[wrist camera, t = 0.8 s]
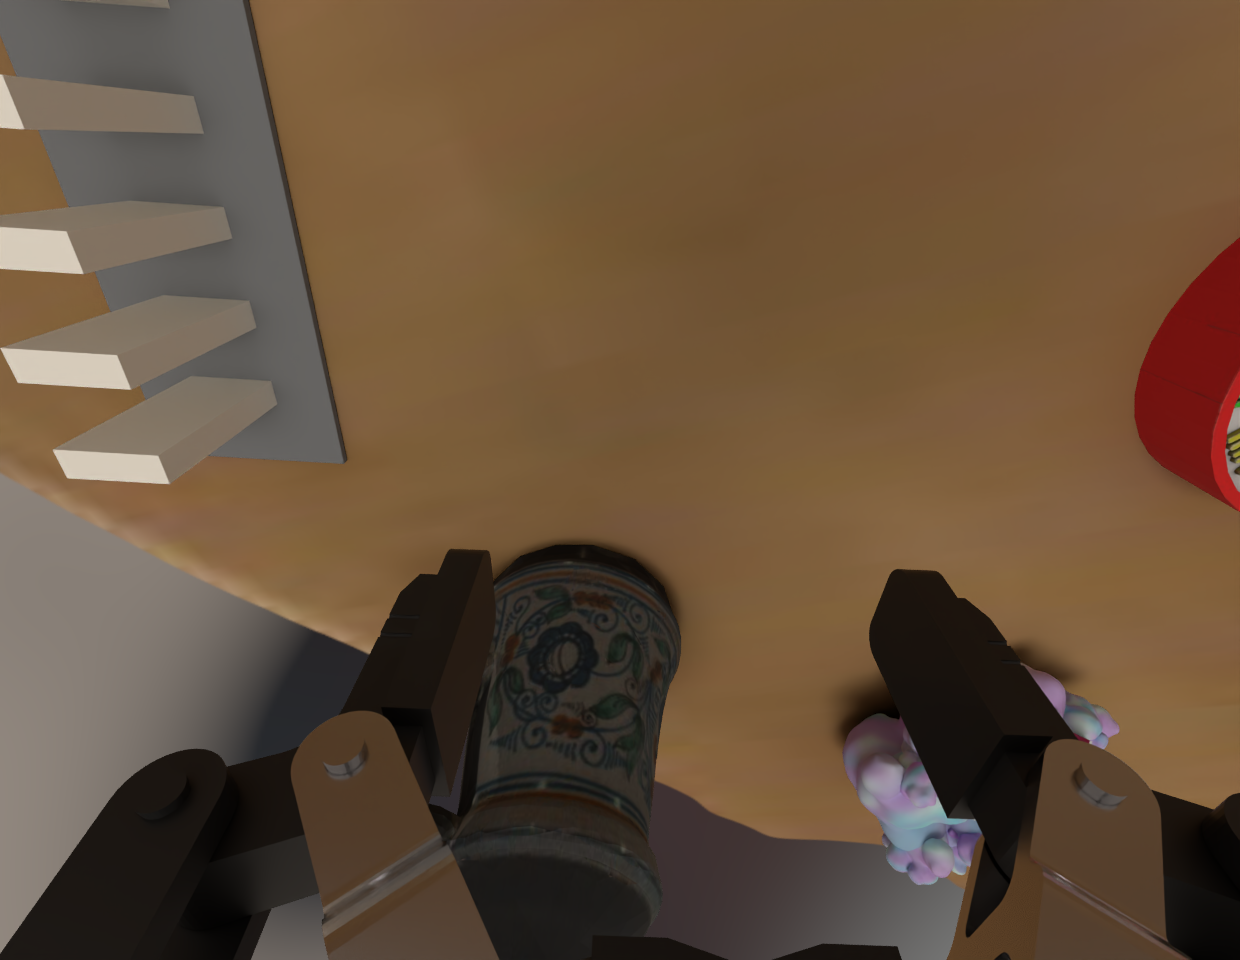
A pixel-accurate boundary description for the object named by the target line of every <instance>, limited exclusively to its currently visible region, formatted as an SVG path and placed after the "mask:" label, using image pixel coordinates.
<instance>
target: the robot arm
mask: <svg viewBox="0 0 1240 960" xmlns="http://www.w3.org/2000/svg"><path fill="white" fill-rule="evenodd" d="M495 620H496V604H495V594H494V585H493V575H492V566H491V557H490V553H489V551H487V550H466V549H450V550H449V551H448V552H447V554H446V556H445V559H444V561H443V563H442V566H441V568H440V570H439V573H438V575H433V574H420V575H419V576H418V577H416V578H415V579H414V580H413V581H412V582H411V583H410V584H409V585H408V586H407V587H406V588H405V589H403V590H402V591H401V592H400V594H399V596H398V598H397V600H396V602H395V604H394V606H393V608H392V610H391V612H390V617H389V619H387V620H386V622H385V624H384V626H383V628H382V630H381V635H380V637H378V639H377V641H376V643H375V645H374V647H373V649H372V651H371V653H370V655H369V657H368V659H367V661H366V663H365V665H364V667H363V669H362V671H361V673H360V675H359V677H358V679H357V681H356V683H355V685H354V687H353V689H352V691H351V693H350V695H349V697H348V699H347V702H346V703H345V706H344V707H343V709H342V711H341V713H340V714H339V715H338V716H336V717H333V718H332V719H330V720H328V721H326V722H324V723H323V724H321V725H320V726H319V727H317V728H316V729H315V730H314V731H313V732H311V733H310V734H309V735H308V736H307V738H306V739H305V740H304V741H303V742H302V744H301V745H300V746H299V747H296V748H294V749H292V750H289V751H286V752H283V753H279V754H276V755H271V756H267V757H263V758H259V759H256V760H252V761H248V762H244V763H240V764H236V765H232V766H228V767H227V766H226V765H225V763H224V761H223V760H222V758H221V757H220V756H219V755H218V754H216V753H214V752H212V751H209V750H205V749H188V750H183V751H178V752H175V753H172V754H169V755H166V756H164V757H162V758H160V759H158V760H156V761H154V762H152V763H150V764H149V765H147V766H145V767H144V768H143V769H141V770H140V771H138V772H137V773H135V774H134V775H133V776H132V777H131V778H129V779H128V780H127V781H126V782H125V783H124V784H123V785H122V786H121V787H120V788H119V789H118V790H117V791H116V792H115V794H114V795H113V796H112V797H111V799H110V800H109V801H108V803H107V804H106V806H105V807H104V809H103V810H102V811H101V813H100V814H99V815H98V817H97V819H96V820H95V821H94V823H93V824H92V825H91V827H90V828H89V829H88V831H87V832H86V834H85V835H84V837H83V838H82V839H81V841H80V842H79V844H78V845H77V846H76V848H75V849H74V851H73V852H72V854H71V855H70V856H69V858H68V859H67V860H66V862H65V863H64V865H63V866H62V868H61V869H60V871H59V872H58V873H57V875H56V876H55V877H54V879H53V880H52V882H51V883H50V884H49V886H48V887H47V889H46V890H45V892H44V893H43V894H42V896H41V897H40V898H39V900H38V901H37V903H36V904H35V906H34V907H33V908H32V910H31V911H30V913H29V914H28V915H27V917H26V918H25V920H24V921H23V922H22V924H21V926H20V927H19V928H18V930H17V931H16V932H15V934H14V935H13V936H12V938H11V939H10V941H9V942H8V944H7V945H6V946H5V948H4V949H3V951H2V952H1V954H0V960H251V958H252V955H253V953H254V950H255V948H256V945H257V943H258V940H259V937H260V935H261V933H262V931H263V928H264V926H265V923H266V920H267V918H268V916H269V913H270V911H271V908H274V907H277V906H280V905H283V904H287V903H290V902H293V901H296V900H299V899H302V898H305V897H308V896H311V895H314V894H317V893H320V897H321V901H322V905H323V911H324V919H323V920H322V930H323V936H324V941H325V946H326V951H327V955H328V959H329V960H499V958H498V956H497V953H496V951H495V949H494V947H493V944H492V942H491V940H490V937H489V935H488V933H487V931H486V928H485V926H484V924H483V922H482V919H481V917H480V915H479V912H478V910H477V908H476V906H475V903H474V901H473V899H472V896H471V894H470V892H469V890H468V887H467V885H466V883H465V880H464V878H463V876H462V874H461V871H460V869H459V867H458V865H457V862H456V860H455V858H454V856H453V854H452V852H451V850H450V848H449V846H448V844H447V843H446V841H443V839H442V837H441V835H440V833H439V831H438V829H437V827H436V824H435V822H434V820H433V817H432V815H431V813H430V810H429V808H428V804H429V801H430V798H431V796H448V797H450V795H451V791H452V787H453V784H454V780H455V776H456V773H457V769H458V765H459V762H460V758H461V754H462V751H463V746H464V743H465V739H466V736H467V732H468V728H469V725H470V721H471V717H472V713H473V710H474V706H475V702H476V699H477V695H478V691H479V687H480V684H481V680H482V676H483V673H484V669H485V665H486V661H487V658H488V654H489V650H490V647H491V643H492V639H493V635H494V629H495ZM869 641H870V647H871V651H872V654H873V656H874V659H875V661H876V663H877V665H878V667H879V670H880V672H881V674H882V676H883V678H884V681H885V683H886V685H887V687H888V689H889V692H890V694H891V696H892V698H893V700H894V703H895V705H896V707H897V709H898V711H899V713H900V716H901V718H902V720H903V722H904V724H905V727H906V729H907V731H908V733H909V735H910V738H911V740H912V742H913V744H914V746H915V749H916V751H917V753H918V755H919V757H920V759H921V762H922V764H923V766H924V768H925V770H926V773H927V775H928V777H929V779H930V781H931V784H932V786H933V788H934V790H935V792H936V795H937V797H938V799H939V801H940V803H941V806H942V808H943V810H944V812H945V814H946V816H947V818H949V819H975V820H976V822H977V824H978V826H979V828H980V830H981V832H982V834H981V835H980V837H979V838H978V840H977V842H976V844H975V848H974V852H973V857H972V861H971V866H970V870H969V874H968V879H967V883H966V888H965V892H964V897H963V901H962V906H961V910H960V914H959V919H958V923H957V927H956V932H955V936H954V940H953V944H952V947H951V950H950V953H949V955H948V957H947V960H1240V793H1237V794H1233V795H1231V796H1229V797H1228V798H1227V799H1226V800H1224V801H1223V802H1222V803H1221V804H1220V805H1219V806H1218V807H1216V808H1215V809H1210V808H1207V807H1204V806H1201V805H1198V804H1195V803H1191V802H1188V801H1185V800H1182V799H1179V798H1176V797H1172V796H1169V795H1166V794H1163V793H1160V792H1157V791H1153V790H1151V789H1150V788H1149V787H1148V785H1147V784H1146V783H1145V782H1144V780H1143V779H1142V778H1141V777H1140V776H1139V775H1138V774H1137V773H1136V772H1135V771H1134V770H1133V769H1131V768H1130V767H1129V766H1128V765H1127V764H1125V763H1124V762H1123V761H1121V760H1120V759H1119V758H1117V757H1115V756H1114V755H1112V754H1111V753H1109V752H1107V751H1105V750H1103V749H1102V748H1099V747H1097V746H1095V745H1092V744H1089V743H1086V742H1083V741H1079V740H1078V739H1077V737H1076V736H1075V735H1074V733H1073V732H1072V730H1071V729H1070V728H1069V726H1068V725H1067V724H1066V722H1065V721H1064V719H1063V718H1062V717H1061V715H1060V714H1059V713H1058V711H1057V710H1056V708H1055V707H1054V706H1053V704H1052V703H1051V702H1050V700H1049V699H1048V697H1047V696H1046V695H1045V693H1044V692H1043V691H1042V689H1041V688H1040V686H1039V685H1038V684H1037V682H1036V681H1035V680H1034V678H1033V677H1032V675H1031V674H1030V673H1029V671H1028V670H1027V669H1026V667H1025V666H1024V665H1021V664H1020V661H1021V660H1020V659H1019V658H1018V656H1017V655H1016V653H1015V652H1014V651H1013V649H1012V648H1011V647H1010V646H1007V644H1006V642H1007V641H1006V640H1005V638H1004V637H1003V636H1002V634H1001V633H1000V631H999V630H998V629H997V627H996V626H995V625H994V623H993V622H992V620H991V619H990V618H989V617H988V616H986V615H985V614H984V613H983V612H981V611H980V610H979V609H978V608H976V607H975V606H974V605H973V604H972V603H970V602H969V601H968V600H967V599H965V598H957V596H956V595H955V593H954V592H953V591H952V589H951V588H950V586H949V585H948V583H947V582H946V580H945V579H944V577H943V576H942V575H941V574H940V573H939V572H937V571H929V570H905V569H896V570H894V571H893V572H892V573H891V574H890V576H889V578H888V581H887V583H886V586H885V588H884V591H883V593H882V596H881V598H880V601H879V603H878V606H877V608H876V611H875V614H874V616H873V619H872V621H871V624H870V630H869ZM582 960H728V959H724V958H722V957H719V956H716V955H714V954H711V953H708V952H705V951H703V950H700V949H697V948H694V947H691V946H689V945H686V944H683V943H680V942H678V941H675V940H672V939H669V938H656V937H629V936H602V935H593V936H592V956H591V957H588V958H585V959H582ZM773 960H902V959H901V956H900V953H899V950H898V947H897V946H871V945H870V946H868V945H844V944H821V945H817V946H814V947H811V948H808V949H805V950H802V951H798V952H795V953H792V954H789V955H786V956H783V957H780V958H776V959H773Z"/></svg>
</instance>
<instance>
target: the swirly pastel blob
mask: <svg viewBox="0 0 1240 960" xmlns="http://www.w3.org/2000/svg"><path fill="white" fill-rule="evenodd" d="M1020 664H1021V665H1024V666H1025V667H1026V669H1027V670H1028V671H1029V673H1030V674H1031V675H1032V677H1033V678H1034V680H1035V681H1036V682H1037V684H1038V685H1039V686H1040V688H1041V689H1042V691H1043V692H1044V693H1045V695H1046V696H1047V697H1048V699H1049V700H1050V702H1051V703H1052V704H1053V706H1054V707H1055V708H1056V710H1057V711H1058V713H1059V714H1060V715H1061V717H1062V718H1063V719H1064V721H1065V722H1066V724H1067V725H1068V726H1069V728H1070V729H1071V730H1072V732H1073V733H1074V735H1075V736H1076V737H1077V739H1078V740H1079V741H1083V742H1086V743H1089V744H1092V745H1095V746H1097V747H1099V748H1102V749H1104V748H1105V747H1106V745H1107V744H1108V738H1109V737H1111V736H1112V735H1115V734H1118V732H1119V726H1118V724H1117V723H1116V722H1115V721H1114V720H1113V719H1112V718H1111V716H1110V714H1109V713H1108V711H1107V710H1106V709H1104V708H1103V707H1101V706H1098V705H1094V704H1090V703H1089V702H1088V701H1087V700H1086V699H1084V698H1083V697H1080V696H1077V695H1074V694H1071V693H1069V692H1067V691H1065V689H1064V687H1063V686H1062V684H1061V683H1060V681H1058V680H1057V679H1056V678H1054V677H1053V676H1051V675H1050V674H1048V673H1046V672H1042V671H1038V670H1034V669H1032V668H1031V667H1029V666H1027V665H1025V664H1023V663H1020ZM843 760H844V765H845V769H846V773H847V775H848V777H849V779H850V781H851V782H852V784H853V786H854V787H855V789H856V790H857V794H858V797H859V799H860V801H861V802H862V804H863V805H864V806H865V807H866V808H867V809H868V810H869V811H871V812H872V813H873V814H874V815H876V817H877V818H878V820H879V822H880V824H881V827H882V829H883V831H884V834H883V836H882V842H883V844H884V846H885V847H887V848H886V858H887V860H888V862H889V864H891V866H892V867H893V868H894V869H895V870H897V871H900V872H907V873H908V875H909V877H910V878H911V880H912V881H913V882H915V883H916V884H918V885H921V884H927V885H930V884H933V883H935V882H936V881H937V880H938V877H941V878H944V877H947V876H948V875H949V873H950V872H951V871H953V872H955V873H957V874H959V875H963V874H965V872H966V866H971V861H972V857H973V852H974V848H975V844H976V842H977V840H978V838H979V837H980V835H981V834H982V832H981V830H980V828H979V826H978V824H977V822H976V820H975V819H949V818H947V816H946V814H945V812H944V810H943V808H942V806H941V803H940V801H939V799H938V797H937V795H936V792H935V790H934V788H933V786H932V784H931V781H930V779H929V777H928V775H927V773H926V770H925V768H924V766H923V764H922V762H921V759H920V757H919V755H918V753H917V751H916V749H915V746H914V744H913V742H912V740H911V738H910V735H909V733H908V731H907V729H906V727H905V724H904V722H903V720H902V718H901V716H900V719H899V720H898V719H896V718H890V717H888V716H886V715H885V714H881V713H880V714H875V715H872V716H870V717H868V718H866V719H865V720H864V721H862V722H861V723H860V724H858V725H857V726H856V727H854V728H853V729H852V730H851V731H850V733H849V734H848V736H847V739H846V742H845V745H844V748H843Z"/></svg>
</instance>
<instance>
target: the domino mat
mask: <svg viewBox="0 0 1240 960" xmlns="http://www.w3.org/2000/svg"><path fill="white" fill-rule="evenodd" d="M168 3H169V7H170V8H157V7H144V6H131V5H117V4H104V3H91V2H77V1H64V0H0V35H1V38H2V40H3V43H4V45H5V48H6V50H7V53H8V55H9V58H10V60H11V63H12V65H13V68H14V70H15V73H16V75H17V77H26V78H35V79H44V80H53V81H62V82H71V83H80V84H89V85H98V86H107V87H116V88H125V89H134V90H143V91H152V92H161V93H170V94H179V95H188V96H194V99H195V103H196V106H197V110H198V114H199V117H200V121H201V125H202V128H203V132H204V134H195V133H155V132H115V131H75V130H38V131H39V133H40V136H41V138H42V141H43V143H44V146H45V148H46V151H47V153H48V156H49V158H50V161H51V163H52V166H53V168H54V171H55V173H56V176H57V178H58V181H59V183H60V186H61V188H62V191H63V193H64V196H65V198H66V201H67V203H68V206H69V208H70V207H78V206H87V205H96V204H105V203H114V202H123V201H143V202H158V203H173V204H188V205H203V206H217V207H224V210H225V213H226V217H227V221H228V224H229V228H230V232H231V235H232V239H229V240H224V241H220V242H216V243H212V244H208V245H203V246H199V247H195V248H191V249H187V250H182V251H178V252H174V253H170V254H166V255H161V256H157V257H153V258H149V259H145V260H140V261H136V262H132V263H128V264H124V265H120V266H115V267H111V268H107V269H103V270H99V271H95V274H96V276H97V279H98V281H99V284H100V286H101V289H102V291H103V294H104V296H105V299H106V301H107V304H108V306H109V309H110V311H111V312H113V311H116V310H119V309H122V308H125V307H128V306H131V305H134V304H137V303H140V302H143V301H147V300H150V299H153V298H156V297H159V296H162V295H169V296H185V297H200V298H216V299H231V300H247V301H249V302H250V305H251V309H252V313H253V316H254V320H255V324H256V328H255V329H253V330H251V331H249V332H247V333H245V334H243V335H241V336H239V337H237V338H235V339H233V340H231V341H228V342H226V343H224V344H222V345H220V346H218V347H216V348H214V349H212V350H210V351H208V352H206V353H204V354H202V355H200V356H198V357H196V358H194V359H192V360H190V361H188V362H186V363H184V364H182V365H180V366H178V367H176V368H174V369H172V370H170V371H168V372H166V373H164V374H162V375H160V376H158V377H156V378H154V379H152V380H150V381H148V382H145V383H143V384H141V385H140V386H141V389H142V391H143V394H144V396H145V399H146V400H147V399H149V398H151V397H153V396H154V395H156V394H158V393H160V392H162V391H164V390H166V389H168V388H170V387H171V386H173V385H175V384H177V383H179V382H181V381H183V380H185V379H187V378H188V377H190V376H199V377H215V378H231V379H248V380H264V381H271V383H272V387H273V390H274V394H275V398H276V401H277V405H276V406H274V407H273V408H272V409H270V410H269V411H268V412H266V413H265V414H263V415H262V416H261V417H259V418H258V419H257V420H255V421H254V422H253V423H251V424H250V425H249V426H247V427H246V428H245V429H243V430H242V431H241V432H239V433H238V434H237V435H235V436H234V437H232V438H231V439H230V440H228V441H227V442H226V443H224V444H223V445H222V446H220V447H219V448H218V449H216V450H215V451H214V452H212V453H211V454H210V455H208V456H220V457H237V458H254V459H271V460H289V461H306V462H323V463H340V464H344V463H345V462H346V461H347V458H346V453H345V448H344V444H343V439H342V434H341V430H340V425H339V420H338V416H337V411H336V406H335V402H334V397H333V392H332V388H331V383H330V379H329V374H328V369H327V365H326V360H325V355H324V351H323V346H322V341H321V337H320V332H319V327H318V323H317V318H316V313H315V309H314V304H313V299H312V295H311V290H310V285H309V281H308V276H307V271H306V267H305V262H304V257H303V253H302V248H301V243H300V239H299V234H298V229H297V225H296V220H295V215H294V211H293V206H292V201H291V197H290V192H289V187H288V183H287V178H286V173H285V169H284V164H283V159H282V155H281V150H280V145H279V141H278V136H277V131H276V127H275V122H274V117H273V113H272V108H271V103H270V99H269V94H268V89H267V85H266V80H265V75H264V71H263V66H262V61H261V57H260V52H259V47H258V43H257V38H256V34H255V29H254V24H253V20H252V15H251V10H250V6H249V1H248V0H168Z"/></svg>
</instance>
